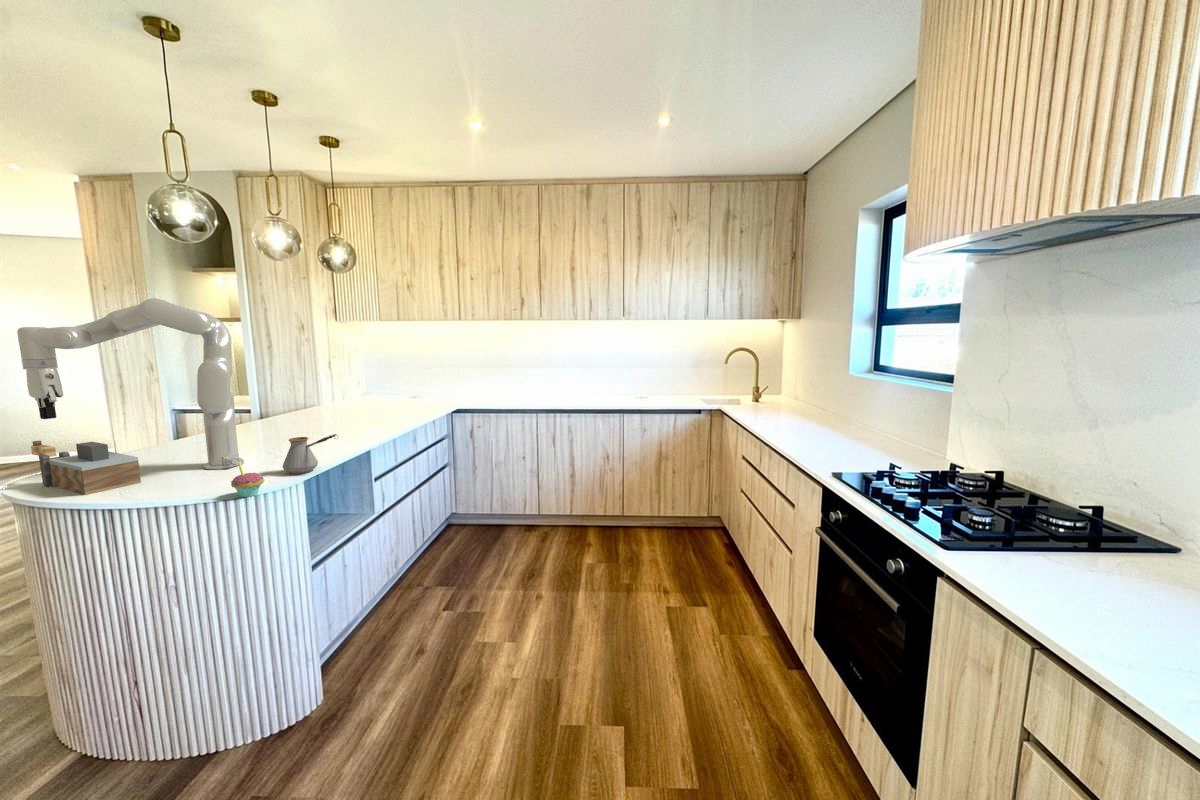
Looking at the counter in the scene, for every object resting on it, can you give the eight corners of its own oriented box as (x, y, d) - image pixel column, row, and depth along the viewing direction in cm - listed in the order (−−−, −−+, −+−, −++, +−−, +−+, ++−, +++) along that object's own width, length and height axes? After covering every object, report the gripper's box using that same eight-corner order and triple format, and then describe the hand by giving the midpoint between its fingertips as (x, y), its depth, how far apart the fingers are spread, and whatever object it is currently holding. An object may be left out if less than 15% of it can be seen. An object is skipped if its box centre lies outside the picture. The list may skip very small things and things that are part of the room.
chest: (141, 482, 164) (137, 453, 162) (80, 496, 150) (76, 463, 148) (103, 474, 173) (99, 446, 172) (43, 486, 159) (38, 455, 158)
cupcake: (239, 501, 147) (235, 463, 145) (227, 496, 151) (223, 459, 149) (269, 493, 154) (266, 457, 152) (258, 488, 158) (254, 454, 157)
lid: (138, 463, 163) (136, 442, 162) (82, 473, 150) (79, 452, 149) (105, 456, 171) (102, 437, 170) (49, 466, 158) (46, 445, 157)
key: (56, 455, 162) (54, 442, 161) (45, 457, 160) (43, 444, 159) (42, 452, 166) (40, 440, 165) (32, 454, 164) (30, 441, 163)
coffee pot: (275, 475, 173) (272, 435, 171) (297, 466, 185) (294, 429, 183) (329, 477, 172) (326, 437, 170) (349, 468, 183) (346, 431, 181)
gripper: (68, 364, 157) (76, 418, 159) (44, 363, 162) (52, 415, 165) (35, 365, 150) (44, 421, 153) (11, 364, 155) (20, 418, 158)
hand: (48, 418), depth 159 cm, fingers closed
